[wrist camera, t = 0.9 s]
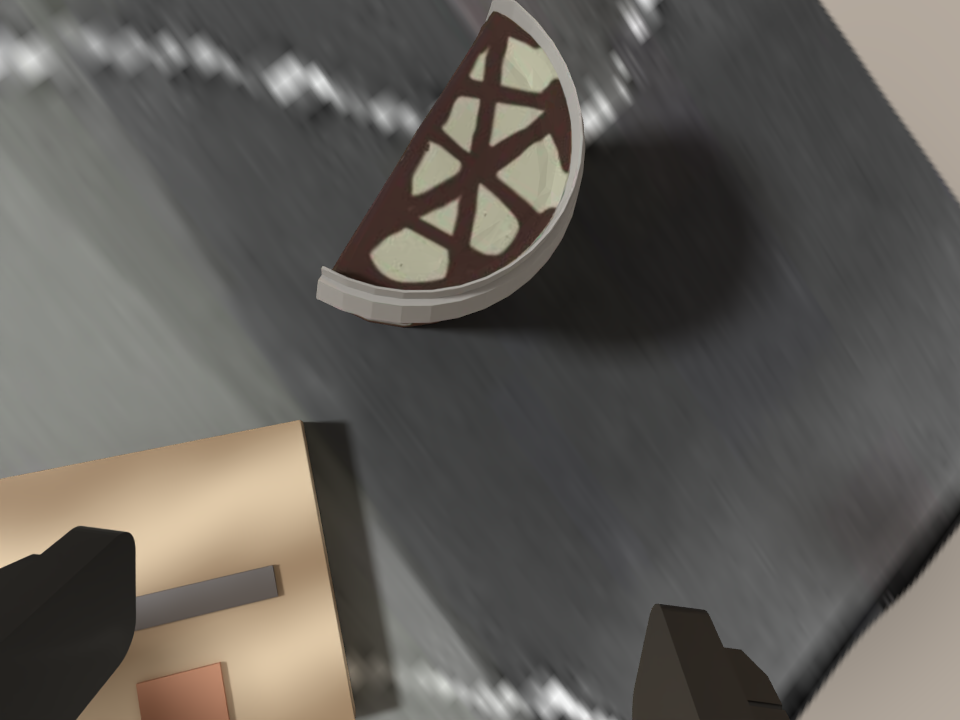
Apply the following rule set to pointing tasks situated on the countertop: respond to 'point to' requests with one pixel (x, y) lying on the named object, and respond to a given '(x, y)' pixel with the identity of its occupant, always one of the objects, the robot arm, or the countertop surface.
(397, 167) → the food container
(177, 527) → the fader board
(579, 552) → the countertop surface
